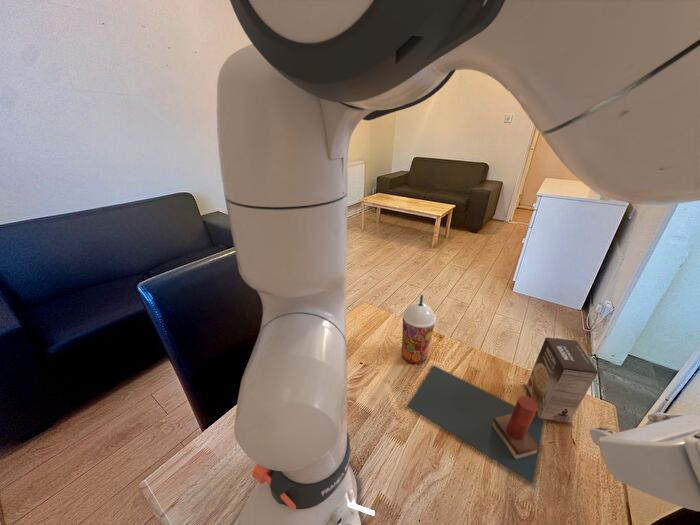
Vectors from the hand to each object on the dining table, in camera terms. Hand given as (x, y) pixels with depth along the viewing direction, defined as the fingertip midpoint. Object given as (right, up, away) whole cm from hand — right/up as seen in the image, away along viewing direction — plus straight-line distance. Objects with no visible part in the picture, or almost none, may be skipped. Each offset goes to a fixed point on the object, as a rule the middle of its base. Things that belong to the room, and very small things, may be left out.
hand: (625, 427), depth 37 cm
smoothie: (-18, -5, +42) cm, 46 cm away
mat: (-8, -13, +26) cm, 30 cm away
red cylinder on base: (-3, -15, +21) cm, 26 cm away
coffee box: (+10, -12, +29) cm, 32 cm away
